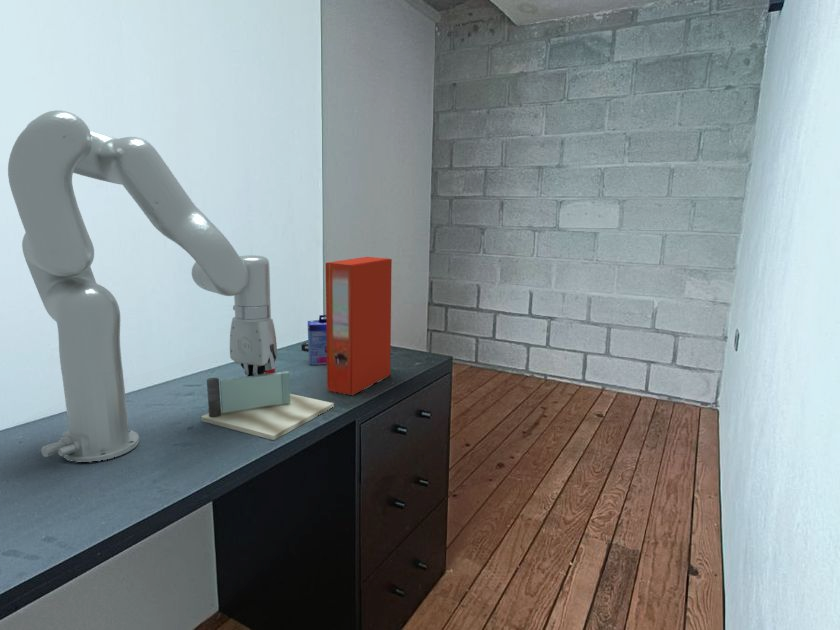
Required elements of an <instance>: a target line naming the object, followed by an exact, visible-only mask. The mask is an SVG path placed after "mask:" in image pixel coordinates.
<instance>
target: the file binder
mask: <svg viewBox="0 0 840 630" xmlns="http://www.w3.org/2000/svg"><path fill="white" fill-rule="evenodd" d="M325 308H326V309H325V315H326V317H325V319H326V328H327V364H326V378H327V379H326V382H327V383H326V384H327V386H326V387H327V388H326V389H327V390H328V391H329V392H332V391H333V392H332V393H336V392H338V393H337V394H341V393H345V394H351V395H353V394H355V393H357V392H359V391H361V390H363V389H364V388H366V387H368V386H370V385H372V384H374V383H375V382H377V381H379V380H381V379H383V378H385V377H387V376H389V375H390V376H391V351H392V350H391V348H392V347H391V346H392V345H391V343H392V342H391V340H392V338H391V337H392V336H391V335H392V334H391V333H392V331H391V330H392V328H391V327H392V324H391V323H392V258H387V257H386V258H385V257H373V256H363V257H356V258H355V257H354V258H350V259H342V260H335V261H329V262H328V261H327V262H325ZM363 391H364V390H363ZM361 392H362V391H361ZM345 394H344V395H345Z"/></svg>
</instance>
